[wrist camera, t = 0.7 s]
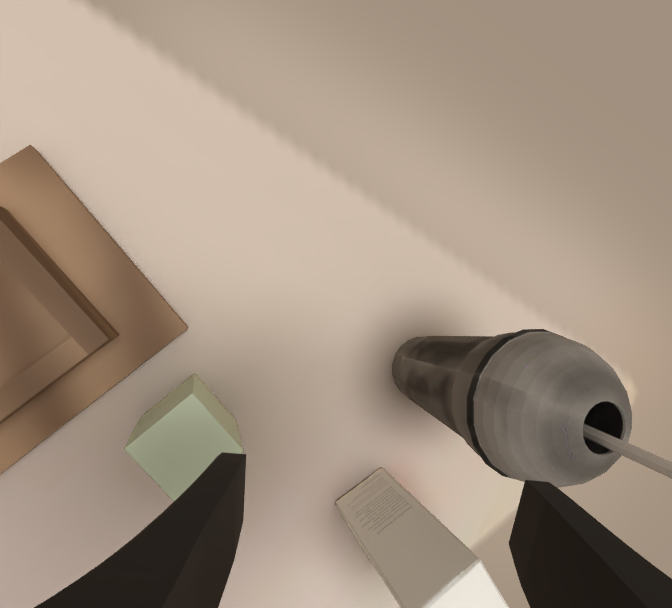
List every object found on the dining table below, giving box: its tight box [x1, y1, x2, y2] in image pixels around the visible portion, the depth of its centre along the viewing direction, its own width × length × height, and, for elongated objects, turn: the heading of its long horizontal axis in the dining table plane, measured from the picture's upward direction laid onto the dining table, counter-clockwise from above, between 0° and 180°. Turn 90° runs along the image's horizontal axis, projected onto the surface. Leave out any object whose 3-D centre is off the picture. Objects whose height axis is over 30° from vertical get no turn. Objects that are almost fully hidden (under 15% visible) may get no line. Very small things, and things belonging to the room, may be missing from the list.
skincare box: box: [336, 468, 509, 608], centre depth 26 cm, size 6×4×12 cm
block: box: [124, 374, 243, 501], centre depth 25 cm, size 4×4×6 cm
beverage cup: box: [393, 329, 672, 488], centre depth 23 cm, size 7×7×20 cm
